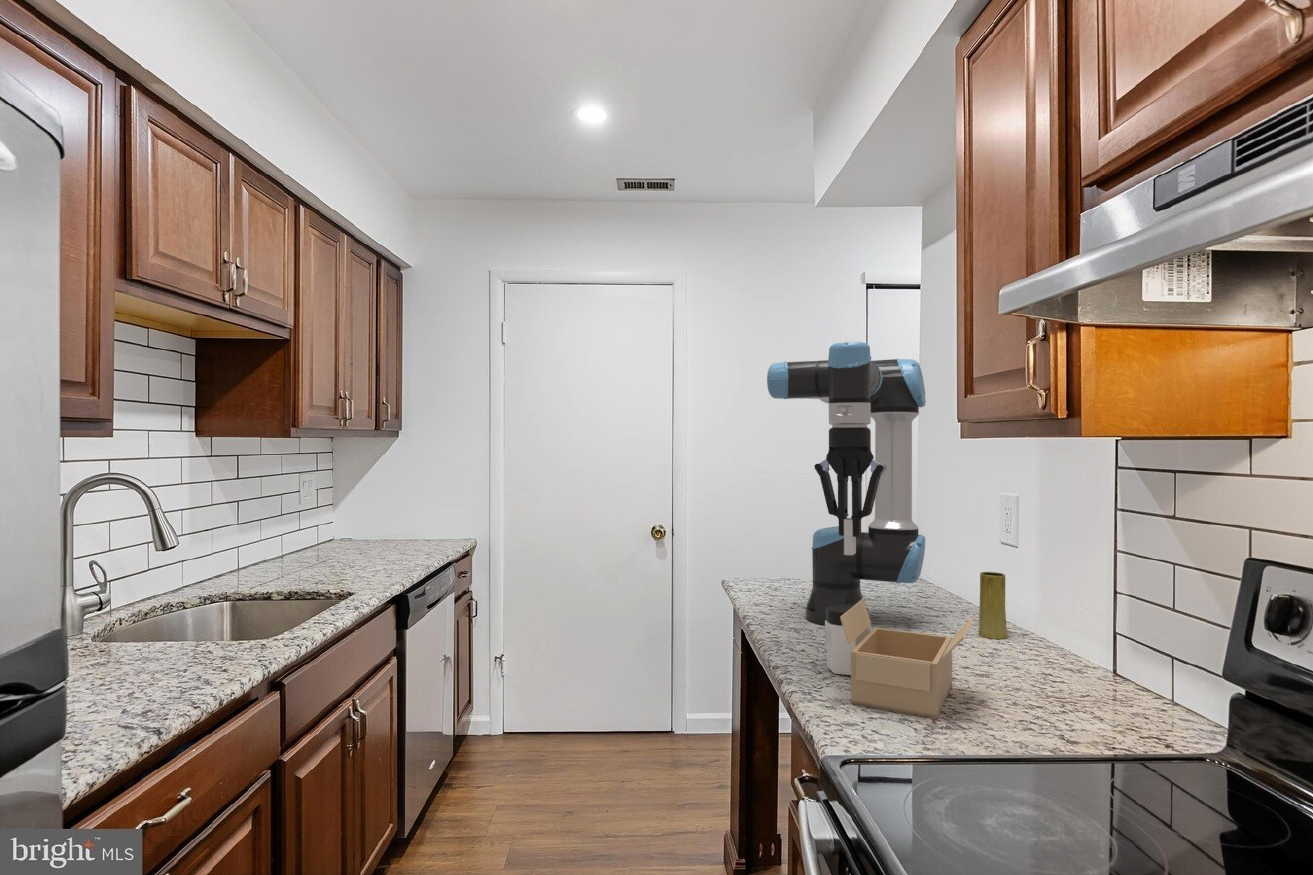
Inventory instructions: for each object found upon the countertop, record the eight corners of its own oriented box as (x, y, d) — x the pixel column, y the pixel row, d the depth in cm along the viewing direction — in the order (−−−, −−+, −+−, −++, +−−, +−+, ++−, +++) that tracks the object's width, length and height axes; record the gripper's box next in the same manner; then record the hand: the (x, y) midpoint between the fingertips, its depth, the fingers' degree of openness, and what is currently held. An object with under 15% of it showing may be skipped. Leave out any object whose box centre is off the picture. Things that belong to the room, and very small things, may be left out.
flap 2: (973, 615, 132) (974, 616, 132) (954, 633, 134) (956, 635, 133) (962, 637, 118) (964, 638, 118) (941, 657, 120) (943, 658, 119)
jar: (850, 678, 138) (846, 614, 138) (818, 669, 144) (815, 608, 145) (882, 669, 142) (878, 607, 143) (850, 661, 149) (847, 602, 150)
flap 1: (871, 623, 141) (869, 623, 141) (863, 598, 142) (862, 598, 142) (850, 644, 127) (848, 644, 127) (841, 616, 128) (839, 617, 128)
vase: (1004, 640, 164) (1004, 577, 164) (975, 636, 167) (975, 574, 167) (1009, 634, 169) (1009, 573, 169) (981, 630, 172) (981, 570, 172)
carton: (875, 673, 142) (875, 626, 142) (952, 684, 135) (952, 636, 135) (850, 704, 125) (850, 652, 125) (936, 720, 119) (936, 664, 119)
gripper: (808, 426, 135) (809, 554, 135) (881, 426, 128) (881, 559, 129) (820, 426, 141) (821, 548, 142) (890, 426, 135) (890, 553, 135)
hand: (850, 553), depth 135 cm, fingers closed
